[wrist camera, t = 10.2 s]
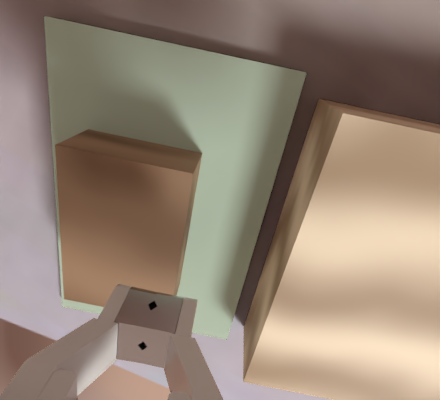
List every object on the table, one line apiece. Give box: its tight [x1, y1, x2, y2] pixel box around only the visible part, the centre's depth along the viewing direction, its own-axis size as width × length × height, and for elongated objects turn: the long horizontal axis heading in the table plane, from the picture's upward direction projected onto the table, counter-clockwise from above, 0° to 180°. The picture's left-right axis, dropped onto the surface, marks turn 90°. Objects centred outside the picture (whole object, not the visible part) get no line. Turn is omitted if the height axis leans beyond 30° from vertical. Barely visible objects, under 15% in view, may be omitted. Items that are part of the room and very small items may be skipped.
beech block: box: [243, 99, 440, 400], centre depth 16 cm, size 16×12×4 cm
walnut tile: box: [55, 129, 202, 307], centre depth 16 cm, size 9×6×3 cm, turn 169°
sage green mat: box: [44, 16, 307, 340], centre depth 18 cm, size 18×12×1 cm, turn 169°
